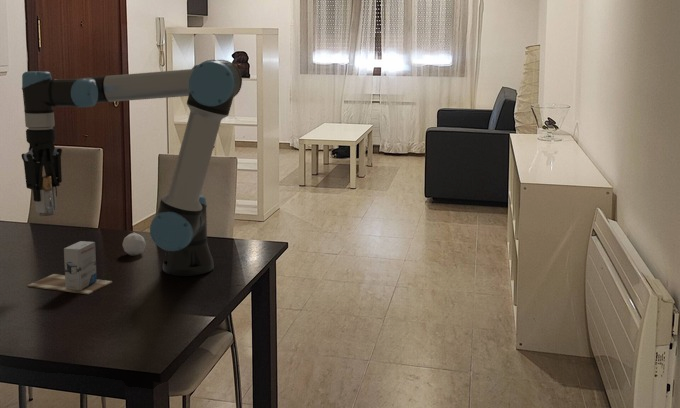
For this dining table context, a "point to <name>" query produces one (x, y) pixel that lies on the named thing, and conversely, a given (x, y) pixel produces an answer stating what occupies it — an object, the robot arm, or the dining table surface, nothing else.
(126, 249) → the ornament
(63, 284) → the panel
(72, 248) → the ink box
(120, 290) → the dining table surface
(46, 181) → the brown grey rounded cylinder
